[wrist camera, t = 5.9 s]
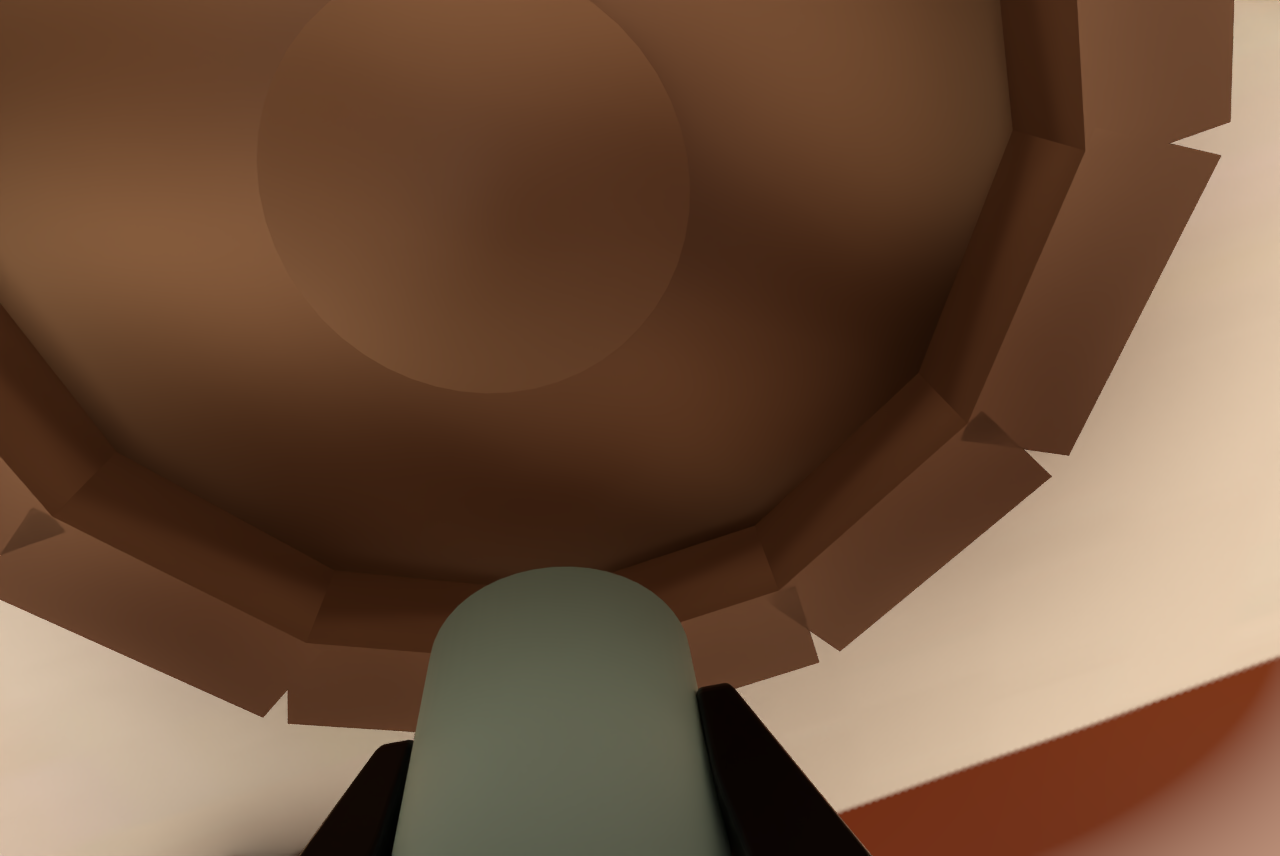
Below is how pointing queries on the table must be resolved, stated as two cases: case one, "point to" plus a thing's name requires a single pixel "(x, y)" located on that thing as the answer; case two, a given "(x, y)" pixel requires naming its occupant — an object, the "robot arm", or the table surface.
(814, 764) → the table surface
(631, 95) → the groove tray
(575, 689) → the bead
